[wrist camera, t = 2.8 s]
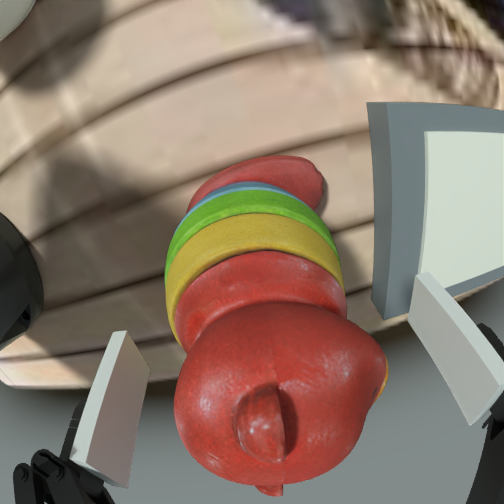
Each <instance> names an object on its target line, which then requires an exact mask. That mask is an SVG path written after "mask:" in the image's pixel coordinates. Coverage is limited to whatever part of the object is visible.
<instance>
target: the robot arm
mask: <svg viewBox="0 0 504 504" xmlns="http://www.w3.org/2000/svg"><path fill="white" fill-rule="evenodd" d="M42 307H43V288H42V283H41V279H40V275H39V272H38V269H37V267H36V264H35V262H34V259H33V257H32V255H31V253H30V251H29V249H28V247H27V246H26V244H25V242H24V241H23V239H22V238H21V236H20V235H19V233H18V232H17V231H16V229H15V228H14V227H13V226H12V225H11V223H10V222H9V221H8V220H7V219H6V218H5V217H4V216H2V215H1V214H0V351H1V350H2V349H3V348H5V347H6V346H8V345H9V344H11V343H12V342H13V341H15V340H16V339H18V338H19V337H21V336H22V335H23V334H25V333H26V332H27V331H28V330H29V329H30V328H31V327H32V325H33V324H34V322H35V321H36V319H37V318H38V316H39V315H40V313H41V310H42ZM408 322H409V323H410V325H411V326H412V328H413V329H414V331H415V332H416V334H417V336H418V337H419V339H420V340H421V342H422V343H423V345H424V347H425V348H426V350H427V351H428V353H429V354H430V356H431V358H432V359H433V361H434V363H435V364H436V366H437V368H438V370H439V371H440V373H441V374H442V376H443V378H444V380H445V381H446V383H447V385H448V387H449V388H450V390H451V392H452V394H453V396H454V397H455V399H456V401H457V403H458V405H459V407H460V408H461V410H462V412H463V414H464V416H465V418H466V420H467V422H468V424H469V425H471V424H473V423H475V422H476V421H478V420H480V419H481V418H483V417H484V415H485V414H486V413H487V412H488V411H489V410H490V411H491V413H492V414H491V416H490V417H489V418H488V419H487V420H486V422H485V423H484V424H483V426H482V428H483V429H484V428H485V427H486V426H487V424H488V423H489V424H488V428H487V434H486V439H485V443H484V448H483V451H482V456H481V459H480V463H479V466H478V470H477V473H476V477H475V479H474V482H473V485H472V488H471V491H470V494H469V497H468V499H467V502H466V504H504V346H503V343H502V342H501V341H500V339H498V337H497V336H496V334H495V333H494V332H493V331H492V329H490V328H489V327H487V326H486V325H484V324H483V323H481V324H478V325H475V324H474V322H473V321H472V320H471V319H470V318H469V316H468V315H467V314H466V313H465V312H464V311H463V309H462V308H461V307H460V306H459V305H458V303H457V302H456V301H455V300H454V299H453V298H452V297H451V295H450V294H449V293H448V292H447V291H446V290H445V289H444V288H443V287H442V286H441V284H440V283H439V282H438V281H437V280H436V279H435V278H434V277H433V276H432V275H431V274H430V273H429V272H425V273H421V274H418V275H415V281H414V287H413V293H412V299H411V305H410V310H409V315H408ZM150 370H151V369H150V367H149V366H148V364H147V363H146V361H145V360H144V358H143V356H142V355H141V353H140V352H139V350H138V348H137V347H136V345H135V343H134V342H133V340H132V338H131V337H130V335H129V333H128V331H117V332H113V334H112V336H111V339H110V341H109V344H108V346H107V348H106V351H105V353H104V356H103V358H102V361H101V364H100V366H99V369H98V371H97V374H96V377H95V379H94V382H93V385H92V388H91V391H90V394H89V396H88V399H82V400H81V401H80V402H79V404H78V405H77V407H76V408H75V410H74V413H73V416H72V420H71V422H70V425H69V427H70V428H68V431H67V434H66V438H65V441H64V444H63V447H62V451H61V454H60V457H59V458H58V457H57V456H55V455H54V454H53V453H51V452H50V451H48V450H46V449H41V450H38V451H37V452H36V453H35V454H34V456H33V457H32V460H31V466H29V465H28V464H26V463H20V464H18V465H17V466H16V468H15V470H14V472H13V483H14V494H15V503H16V504H44V502H46V503H47V504H115V503H114V501H113V499H112V498H111V496H110V495H109V493H108V491H107V489H106V488H105V487H104V486H103V484H104V481H105V482H106V483H108V484H110V485H112V486H116V487H122V488H128V484H129V477H130V471H131V464H132V458H133V452H134V446H135V441H136V435H137V430H138V425H139V420H140V415H141V410H142V405H143V401H144V396H145V392H146V387H147V383H148V378H149V374H150Z"/></svg>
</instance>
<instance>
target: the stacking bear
mask: <svg viewBox="0 0 504 504" xmlns="http://www.w3.org/2000/svg"><path fill="white" fill-rule="evenodd" d="M322 185H323V176H322V174H321V173H320V172H319V171H318V170H316V169H315V166H314V165H313V163H312V162H311V161H309V160H307V159H305V158H302V157H295V156H280V155H279V156H266V157H259V158H255V159H250V160H247V161H243V162H241V163H238V164H235V165H233V166H231V167H229V168H226V169H224V170H223V171H221V172H219V173H218V174H216V175H215V176H213V177H212V178H210V179H209V180H208V181H206V182H205V183H204V184H203V185H202V186H201V187H200V188H199V189H198V190H197V192H196V193H195V194H194V196H193V198H192V200H191V202H190V204H189V206H188V209H187V213H186V215H185V217H184V218H183V220H182V221H181V223H180V224H179V226H178V227H177V229H176V231H175V233H174V235H173V238H172V240H171V243H170V246H169V249H168V253H167V258H166V266H165V290H166V307H167V314H168V320H169V323H170V327H171V329H172V332H173V334H174V336H175V338H176V340H177V341H178V343H179V344H180V345H181V346H182V348H183V349H184V350H185V352H186V353H187V354H188V355H187V357H186V359H185V361H184V363H183V365H182V368H181V372H180V375H179V378H178V382H177V386H176V391H175V396H174V417H175V422H176V426H177V430H178V432H179V435H180V438H181V440H182V442H183V443H184V445H185V447H186V449H187V450H188V451H189V453H190V454H191V455H192V456H193V458H194V459H195V460H196V461H197V462H198V463H200V464H201V465H202V466H203V467H204V468H206V469H207V470H209V471H210V472H212V473H214V474H216V475H217V476H219V477H222V478H224V479H226V480H229V481H233V482H236V483H241V484H246V485H255V487H256V488H257V489H258V490H259V491H260V492H262V493H264V494H266V495H269V496H282V495H283V484H290V483H297V482H301V481H305V480H309V479H312V478H314V477H317V476H320V475H322V474H324V473H326V472H328V471H329V470H331V469H332V468H334V467H335V466H337V465H338V464H339V463H341V462H342V461H343V460H344V458H346V456H348V454H349V453H350V452H351V450H352V449H353V447H354V446H355V444H356V442H357V441H358V439H359V437H360V435H361V432H362V429H363V425H364V422H365V418H366V415H367V413H368V411H369V409H370V408H371V406H372V404H373V403H374V402H375V401H376V399H377V398H378V397H379V396H380V395H381V393H382V391H383V389H384V387H385V385H386V382H387V379H388V362H387V359H386V356H385V354H384V352H383V351H382V349H381V348H380V346H379V344H378V343H377V342H376V341H375V340H374V339H373V338H372V337H371V336H370V335H369V334H368V333H367V332H365V331H364V330H363V329H361V328H360V327H359V326H357V325H356V324H354V323H353V322H351V321H349V320H347V319H346V317H347V303H346V297H345V289H344V281H343V276H342V272H341V265H340V260H339V256H338V252H337V249H336V246H335V243H334V241H333V239H332V236H331V234H330V232H329V230H328V229H327V227H326V225H325V224H324V223H323V221H322V220H321V218H320V217H319V216H318V215H317V214H316V213H315V212H314V210H315V209H316V207H317V206H318V204H319V202H320V200H321V198H322V195H323V188H322Z"/></svg>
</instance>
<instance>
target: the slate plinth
mask: <svg viewBox="0 0 504 504" xmlns="http://www.w3.org/2000/svg"><path fill="white" fill-rule="evenodd" d="M366 103H367V111H368V119H369V128H370V139H371V150H372V164H373V183H374V265H373V284H372V298H371V301H372V302H373V304H374V306H375V307H376V309H377V310H378V312H379V314H380V315H381V317H382V319H383V320H386V319H389V318H393V317H396V316H399V315H402V314H405V313H409V310H410V305H411V299H412V293H413V287H414V281H415V275H418V274H421V273H425V272H429V273H430V274H431V275H432V276H433V277H434V278H435V279H436V280H437V281H438V282H439V283H440V284H441V286H442V287H443V288H444V289H445V290H446V291H447V292H448V293H449V294H450V295H451V297H454V296H457V295H459V294H462V293H464V292H467V291H469V290H472V289H474V288H477V287H479V286H482V285H484V284H486V283H489V282H491V281H493V280H495V279H498V278H500V277H502V276H504V110H497V109H491V108H484V107H476V106H467V105H457V104H444V103H425V102H366Z"/></svg>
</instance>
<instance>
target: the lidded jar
mask: <svg viewBox="0 0 504 504" xmlns="http://www.w3.org/2000/svg"><path fill="white" fill-rule="evenodd" d="M35 2H36V0H0V41H2V40H3V39H4V38H5V37H6V36H8V35H9V34H10V33H11V32H12V31H14V30H15V29H16V28H17V27H18V26H19V25H20V24H21V23H22V22H23V21H24V20H25V18H26V17H27V16H28V14H29V13H30V11H31V10H32V8H33V6H34V4H35Z"/></svg>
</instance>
